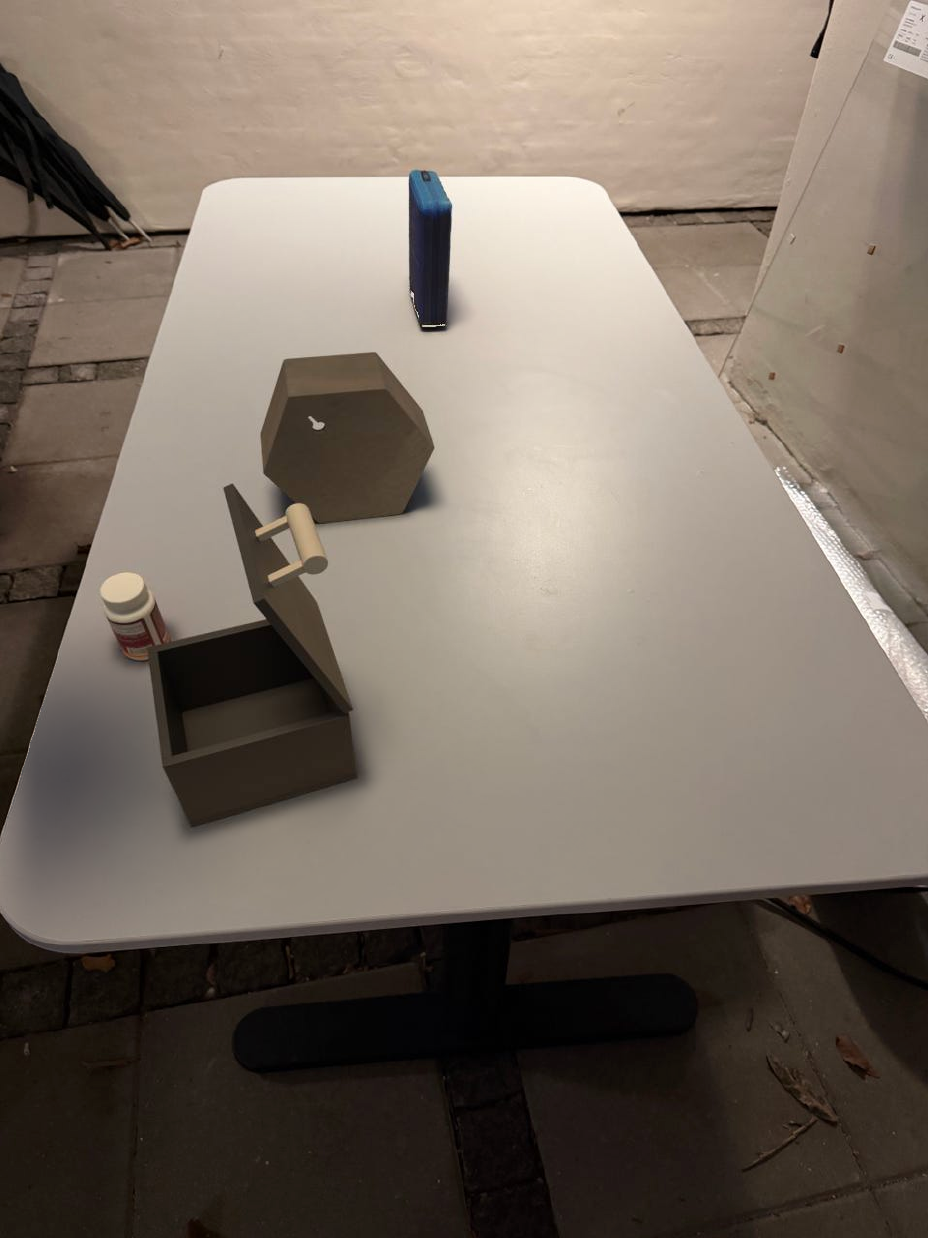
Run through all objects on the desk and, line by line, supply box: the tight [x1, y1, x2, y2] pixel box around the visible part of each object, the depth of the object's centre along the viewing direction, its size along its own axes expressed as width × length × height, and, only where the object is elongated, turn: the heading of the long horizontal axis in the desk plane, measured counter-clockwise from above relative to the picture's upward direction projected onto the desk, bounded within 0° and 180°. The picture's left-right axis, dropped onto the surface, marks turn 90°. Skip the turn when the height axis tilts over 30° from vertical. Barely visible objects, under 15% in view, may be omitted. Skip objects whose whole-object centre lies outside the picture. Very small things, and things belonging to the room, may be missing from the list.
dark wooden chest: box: [147, 618, 358, 828], centre depth 68 cm, size 15×13×10 cm
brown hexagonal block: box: [259, 351, 435, 524], centre depth 90 cm, size 17×8×21 cm
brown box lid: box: [222, 483, 354, 714], centre depth 60 cm, size 16×13×5 cm
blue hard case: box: [408, 169, 453, 329], centre depth 122 cm, size 14×5×20 cm, turn 11°
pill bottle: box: [99, 572, 170, 661], centre depth 76 cm, size 5×5×8 cm
